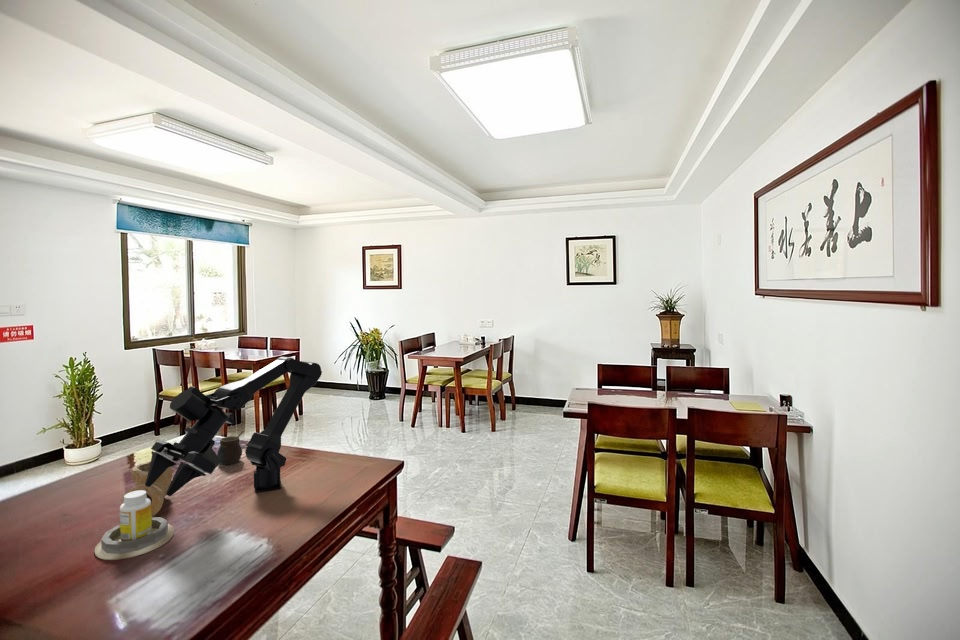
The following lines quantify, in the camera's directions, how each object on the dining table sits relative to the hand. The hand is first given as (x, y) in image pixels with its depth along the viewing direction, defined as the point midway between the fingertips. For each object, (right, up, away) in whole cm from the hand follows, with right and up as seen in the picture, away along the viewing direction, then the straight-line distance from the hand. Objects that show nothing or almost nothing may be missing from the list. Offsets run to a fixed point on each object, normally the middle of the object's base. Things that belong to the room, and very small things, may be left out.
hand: (157, 490), depth 103 cm
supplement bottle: (-2, -10, -3) cm, 10 cm away
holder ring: (-2, -10, -3) cm, 11 cm away
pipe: (-11, -9, +12) cm, 19 cm away
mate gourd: (-7, -7, +43) cm, 44 cm away
